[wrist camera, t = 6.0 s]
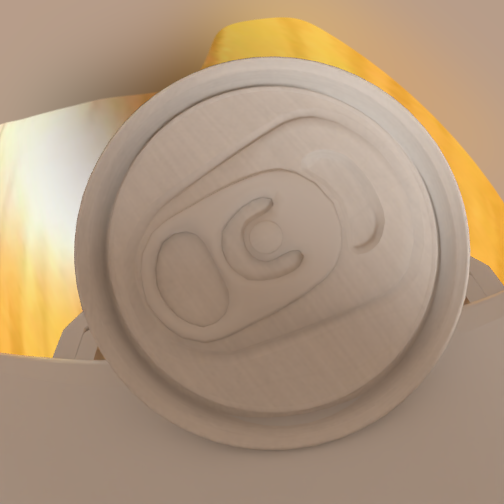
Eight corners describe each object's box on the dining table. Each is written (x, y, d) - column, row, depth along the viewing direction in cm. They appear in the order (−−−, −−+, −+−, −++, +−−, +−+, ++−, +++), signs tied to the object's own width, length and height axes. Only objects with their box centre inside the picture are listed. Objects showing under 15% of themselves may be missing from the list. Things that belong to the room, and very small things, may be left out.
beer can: (337, 295, 18) (530, 314, 3) (252, 341, 18) (182, 513, 3) (291, 211, 18) (336, 9, 4) (207, 256, 18) (25, 168, 4)
